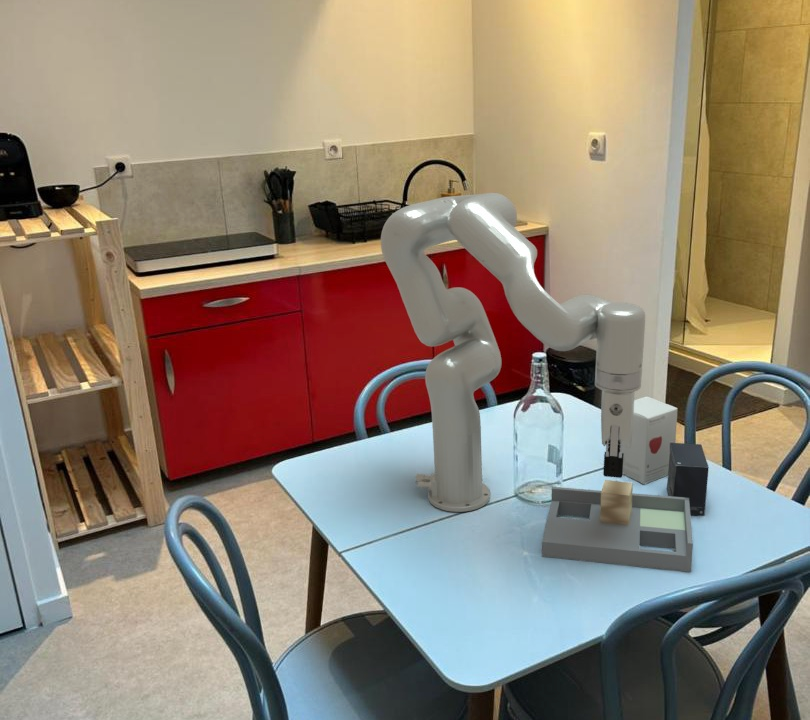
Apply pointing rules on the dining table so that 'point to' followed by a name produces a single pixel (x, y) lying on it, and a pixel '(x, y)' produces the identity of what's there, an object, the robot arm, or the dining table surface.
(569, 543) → the tray
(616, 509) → the beech block
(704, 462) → the small box
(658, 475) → the supplement box
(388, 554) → the dining table surface
